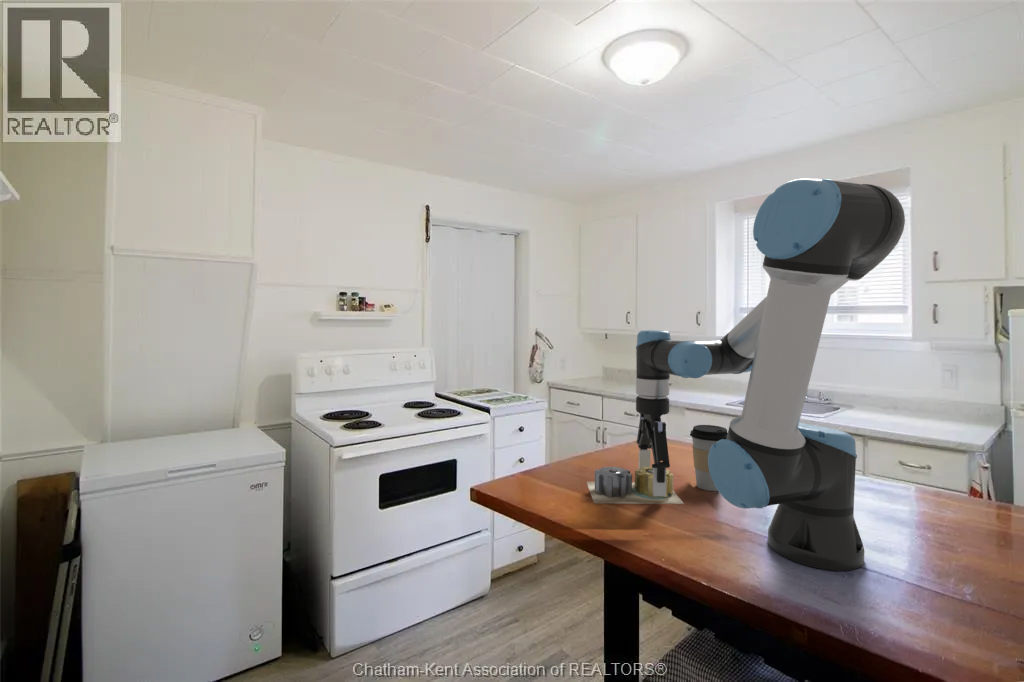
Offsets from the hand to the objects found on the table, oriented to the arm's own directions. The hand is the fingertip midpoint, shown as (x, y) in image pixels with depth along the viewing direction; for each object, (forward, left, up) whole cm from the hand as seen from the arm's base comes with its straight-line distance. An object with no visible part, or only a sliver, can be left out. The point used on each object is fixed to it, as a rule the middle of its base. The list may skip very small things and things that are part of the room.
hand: (651, 485), depth 116 cm
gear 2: (0, 0, -2) cm, 2 cm away
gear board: (0, +4, -3) cm, 6 cm away
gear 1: (0, +9, -2) cm, 9 cm away
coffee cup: (+8, -16, -3) cm, 19 cm away
